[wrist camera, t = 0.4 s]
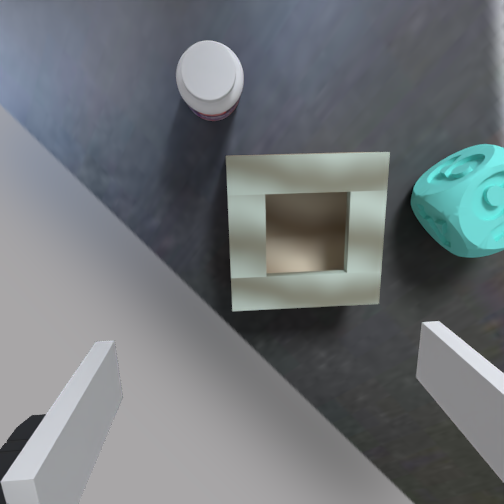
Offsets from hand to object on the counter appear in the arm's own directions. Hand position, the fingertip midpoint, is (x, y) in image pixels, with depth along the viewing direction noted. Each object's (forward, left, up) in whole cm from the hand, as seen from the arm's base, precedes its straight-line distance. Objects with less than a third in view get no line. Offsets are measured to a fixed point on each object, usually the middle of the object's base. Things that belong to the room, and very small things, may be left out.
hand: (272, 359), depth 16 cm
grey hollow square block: (-1, +5, -25) cm, 25 cm away
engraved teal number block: (-3, +22, -25) cm, 34 cm away
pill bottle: (-14, -3, -25) cm, 29 cm away
